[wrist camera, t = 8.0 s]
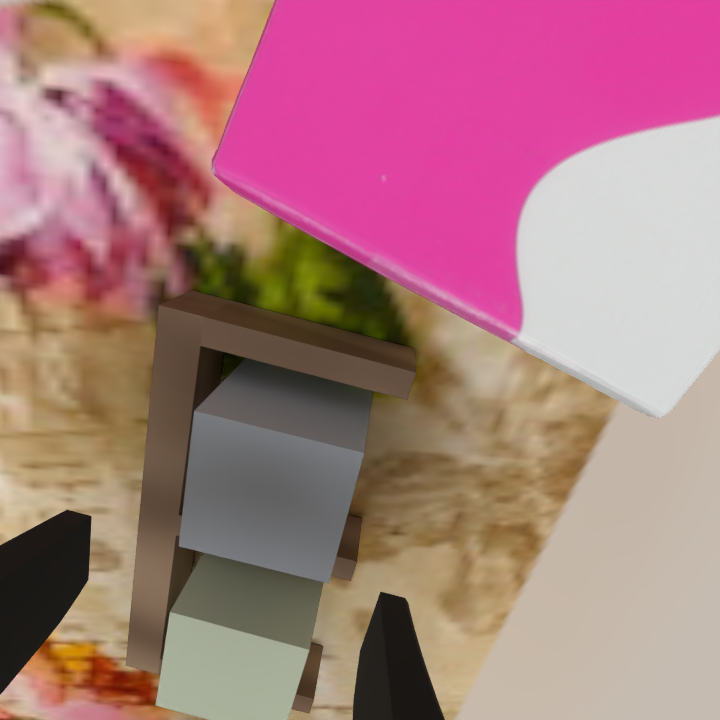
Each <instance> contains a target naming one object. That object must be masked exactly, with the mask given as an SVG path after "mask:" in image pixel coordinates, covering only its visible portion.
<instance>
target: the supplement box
mask: <svg viewBox="0 0 720 720" xmlns="http://www.w3.org/2000/svg"><path fill="white" fill-rule="evenodd" d="M211 170H212V173H213V174H214V175H215V176H216V177H217V178H218V179H219V180H220V181H222V182H223V183H224V184H225V185H226V186H228V187H229V188H230V189H231V190H232V191H234V192H235V193H237V194H239V195H240V196H242V197H244V198H245V199H247V200H249V201H251V202H252V203H254V204H256V205H258V206H259V207H261V208H263V209H265V210H266V211H268V212H270V213H271V214H273V215H275V216H277V217H278V218H280V219H282V220H284V221H285V222H287V223H289V224H291V225H292V226H294V227H296V228H298V229H300V230H302V231H303V232H305V233H307V234H309V235H311V236H312V237H314V238H316V239H318V240H320V241H321V242H323V243H325V244H327V245H329V246H331V247H332V248H334V249H336V250H338V251H340V252H341V253H343V254H345V255H347V256H349V257H350V258H352V259H354V260H356V261H358V262H360V263H361V264H363V265H365V266H367V267H369V268H370V269H372V270H374V271H376V272H377V273H379V274H381V275H383V276H385V277H386V278H388V279H390V280H392V281H394V282H396V283H398V284H400V285H402V286H403V287H405V288H407V289H409V290H411V291H413V292H415V293H417V294H419V295H420V296H422V297H424V298H426V299H428V300H430V301H432V302H434V303H435V304H437V305H439V306H441V307H443V308H445V309H447V310H448V311H450V312H452V313H454V314H456V315H458V316H460V317H462V318H463V319H465V320H467V321H469V322H471V323H473V324H475V325H477V326H479V327H480V328H482V329H484V330H486V331H488V332H490V333H492V334H494V335H496V336H498V337H500V338H502V339H504V340H506V341H507V342H509V343H511V344H513V345H515V346H517V347H518V348H520V349H522V350H524V351H525V352H527V353H529V354H531V355H533V356H535V357H537V358H540V359H541V360H543V361H545V362H547V363H549V364H550V365H552V366H554V367H556V368H557V369H559V370H561V371H563V372H565V373H567V374H569V375H571V376H573V377H575V378H577V379H579V380H581V381H582V382H584V383H586V384H588V385H590V386H591V387H593V388H595V389H597V390H598V391H600V392H602V393H604V394H606V395H608V396H610V397H612V398H614V399H616V400H618V401H620V402H622V403H624V404H626V405H628V406H629V407H631V408H633V409H635V410H637V411H639V412H642V413H644V414H646V415H648V416H651V417H655V418H660V417H663V416H665V415H666V414H667V413H668V412H669V411H671V410H672V409H673V408H674V407H675V405H676V404H677V402H678V401H679V399H680V398H681V397H682V396H683V394H684V393H685V392H686V390H687V389H688V388H689V387H690V385H691V384H692V383H693V382H694V381H695V380H696V379H697V377H698V376H699V375H700V374H701V372H702V371H703V370H704V369H705V367H706V366H707V365H708V363H709V362H710V361H711V360H712V358H713V357H714V356H715V355H716V353H717V352H718V351H719V350H720V0H275V2H274V4H273V7H272V9H271V12H270V14H269V17H268V19H267V22H266V25H265V27H264V30H263V33H262V35H261V38H260V40H259V43H258V46H257V48H256V51H255V54H254V56H253V59H252V61H251V64H250V67H249V69H248V72H247V74H246V76H245V79H244V81H243V84H242V86H241V89H240V91H239V94H238V96H237V99H236V101H235V104H234V106H233V109H232V111H231V114H230V117H229V119H228V122H227V124H226V127H225V130H224V132H223V135H222V138H221V141H220V144H219V146H218V149H217V151H216V153H215V154H214V156H213V158H212V167H211Z"/></svg>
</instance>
